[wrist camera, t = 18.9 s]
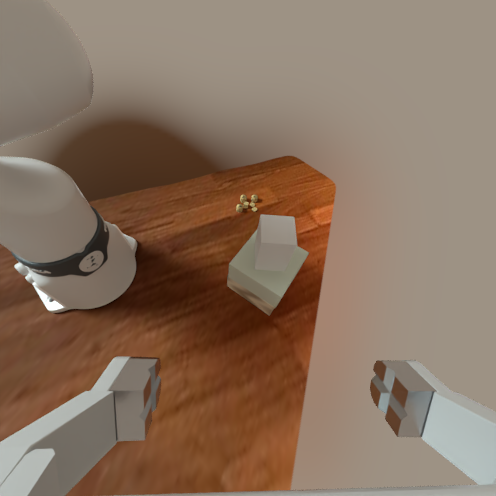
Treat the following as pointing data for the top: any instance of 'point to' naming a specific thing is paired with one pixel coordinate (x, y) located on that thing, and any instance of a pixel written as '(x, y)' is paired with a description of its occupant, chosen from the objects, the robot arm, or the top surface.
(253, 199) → the beige lumpy cluster
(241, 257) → the sage block
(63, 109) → the robot arm
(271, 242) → the grey block
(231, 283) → the birch block
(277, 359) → the top surface
